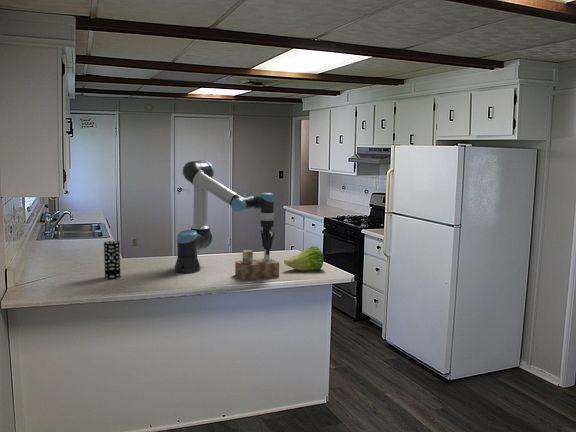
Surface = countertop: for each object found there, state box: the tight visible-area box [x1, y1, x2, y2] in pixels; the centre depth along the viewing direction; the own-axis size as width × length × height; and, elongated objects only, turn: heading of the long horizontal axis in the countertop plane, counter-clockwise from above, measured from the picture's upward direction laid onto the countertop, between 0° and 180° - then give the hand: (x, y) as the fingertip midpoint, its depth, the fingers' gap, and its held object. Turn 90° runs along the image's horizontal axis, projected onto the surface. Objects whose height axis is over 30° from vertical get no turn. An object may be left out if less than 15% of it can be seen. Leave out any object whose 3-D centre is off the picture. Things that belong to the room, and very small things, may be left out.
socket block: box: [234, 257, 280, 281], centre depth 310 cm, size 22×13×8 cm, turn 117°
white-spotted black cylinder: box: [103, 240, 122, 280], centre depth 299 cm, size 8×8×20 cm
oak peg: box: [242, 249, 254, 264], centre depth 306 cm, size 4×4×8 cm
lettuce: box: [283, 245, 324, 272], centre depth 325 cm, size 14×24×15 cm
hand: (266, 259), depth 312 cm, fingers closed
